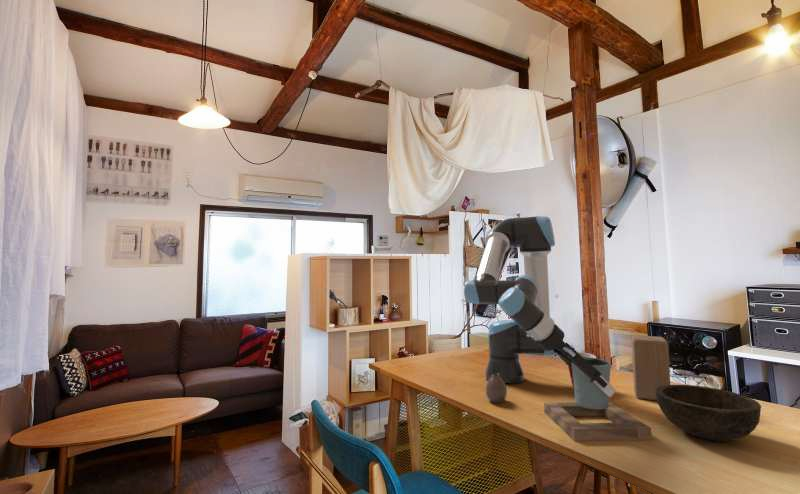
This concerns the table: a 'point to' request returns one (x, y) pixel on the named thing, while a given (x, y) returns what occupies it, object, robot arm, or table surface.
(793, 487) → the table surface
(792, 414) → the table surface
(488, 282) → the robot arm
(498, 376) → the vase
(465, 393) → the table surface
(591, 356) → the plastic cup
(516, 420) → the table surface
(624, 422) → the well board
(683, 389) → the bowl
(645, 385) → the wooden block
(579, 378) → the grey-green cup
